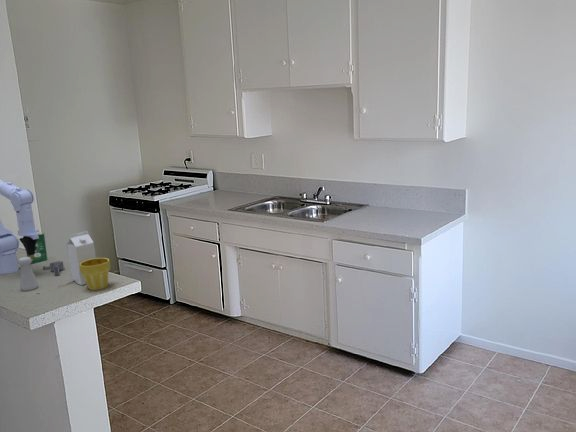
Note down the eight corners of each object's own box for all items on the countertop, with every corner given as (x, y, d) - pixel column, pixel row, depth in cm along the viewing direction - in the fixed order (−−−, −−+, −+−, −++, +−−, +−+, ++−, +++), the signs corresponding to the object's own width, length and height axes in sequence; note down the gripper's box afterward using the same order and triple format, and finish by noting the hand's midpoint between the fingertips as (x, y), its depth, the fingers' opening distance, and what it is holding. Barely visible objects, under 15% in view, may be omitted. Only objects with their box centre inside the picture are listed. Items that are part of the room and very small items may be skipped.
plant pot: (92, 294, 189) (88, 267, 187) (77, 288, 196) (73, 263, 194) (118, 285, 197) (114, 259, 195) (103, 281, 204) (99, 256, 202)
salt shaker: (41, 288, 199) (36, 254, 197) (34, 294, 194) (29, 259, 191) (25, 289, 199) (19, 256, 196) (18, 295, 193) (12, 260, 191)
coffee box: (48, 260, 238) (44, 232, 236) (48, 262, 236) (43, 233, 233) (28, 263, 236) (24, 234, 233) (28, 265, 233) (23, 236, 230)
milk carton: (72, 282, 205) (65, 233, 201) (90, 277, 210) (83, 230, 206) (81, 285, 200) (74, 236, 196) (99, 280, 205) (92, 232, 201)
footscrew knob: (51, 269, 219) (49, 260, 218) (64, 267, 221) (62, 258, 220) (50, 276, 209) (48, 267, 208) (63, 274, 211) (62, 265, 210)
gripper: (44, 220, 208) (49, 254, 210) (28, 217, 217) (33, 249, 220) (25, 224, 202) (31, 259, 205) (10, 221, 212) (15, 254, 215)
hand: (31, 254), depth 212 cm, fingers closed
